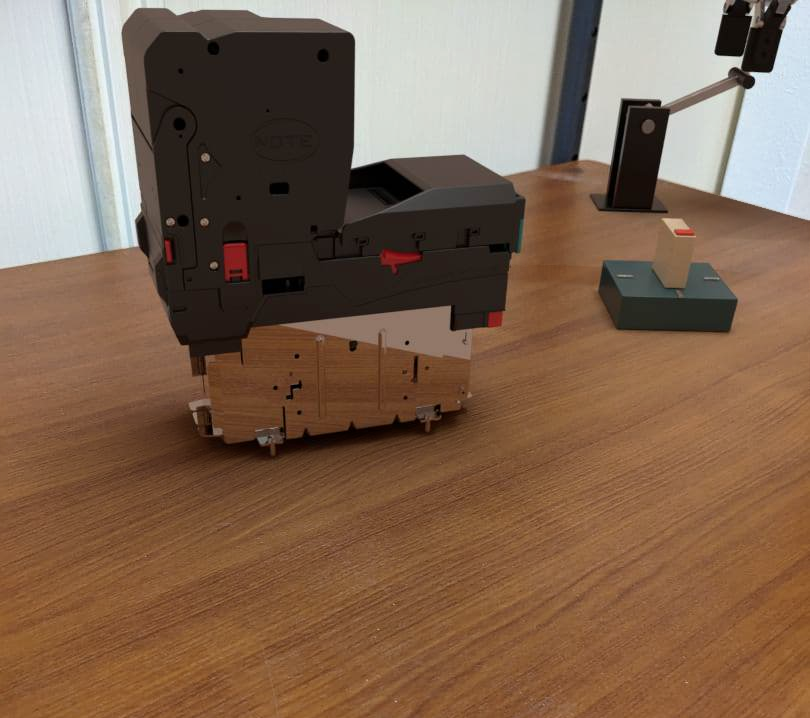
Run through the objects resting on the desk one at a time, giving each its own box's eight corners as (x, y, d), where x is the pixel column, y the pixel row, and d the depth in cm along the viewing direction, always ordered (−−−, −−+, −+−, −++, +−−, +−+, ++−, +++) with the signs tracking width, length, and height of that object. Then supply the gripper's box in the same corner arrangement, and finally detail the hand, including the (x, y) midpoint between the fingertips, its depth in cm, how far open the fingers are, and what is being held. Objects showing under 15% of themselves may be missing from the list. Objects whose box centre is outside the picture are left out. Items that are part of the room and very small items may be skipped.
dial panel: (701, 293, 88) (709, 260, 86) (730, 332, 80) (739, 297, 79) (597, 290, 88) (603, 257, 86) (616, 329, 80) (623, 294, 78)
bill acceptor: (506, 424, 66) (551, 26, 51) (182, 474, 59) (125, 32, 44) (450, 362, 74) (475, 2, 59) (158, 400, 67) (103, 4, 52)
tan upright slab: (651, 267, 84) (662, 215, 81) (671, 268, 84) (682, 215, 81) (664, 288, 80) (676, 233, 77) (685, 288, 80) (697, 234, 77)
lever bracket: (654, 205, 111) (674, 99, 104) (666, 221, 106) (688, 110, 99) (588, 203, 111) (604, 96, 104) (597, 219, 106) (614, 107, 99)
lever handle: (741, 81, 103) (737, 59, 101) (757, 91, 98) (753, 68, 97) (627, 131, 106) (622, 110, 104) (638, 142, 101) (632, 121, 100)
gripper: (862, -130, 82) (804, 80, 92) (794, -132, 96) (750, 52, 106) (780, -135, 82) (730, 77, 92) (723, -136, 96) (686, 48, 106)
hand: (741, 63), depth 99 cm, fingers open, 9 cm apart
